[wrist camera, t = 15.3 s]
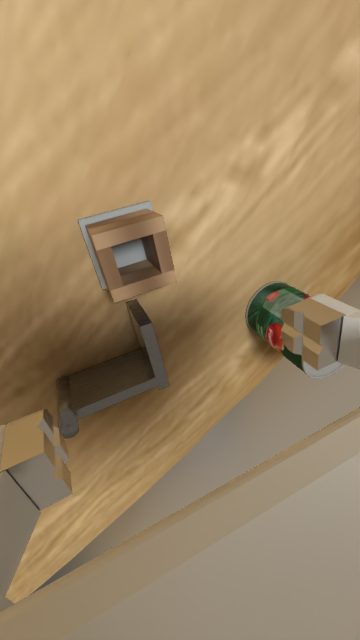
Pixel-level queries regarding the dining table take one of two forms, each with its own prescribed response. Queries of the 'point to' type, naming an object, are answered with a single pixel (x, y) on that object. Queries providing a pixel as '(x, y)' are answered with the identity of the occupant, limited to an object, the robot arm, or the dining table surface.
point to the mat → (122, 252)
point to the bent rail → (112, 377)
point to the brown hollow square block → (141, 273)
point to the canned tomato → (280, 323)
